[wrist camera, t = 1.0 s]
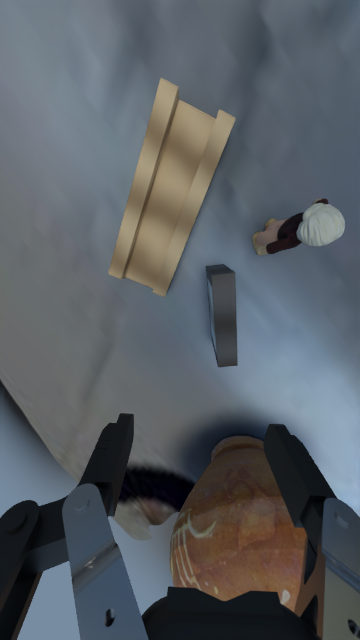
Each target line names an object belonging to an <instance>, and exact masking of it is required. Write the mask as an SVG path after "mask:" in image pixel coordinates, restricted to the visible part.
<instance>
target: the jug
mask: <svg viewBox="0 0 360 640" xmlns="http://www.w3.org/2000/svg"><path fill="white" fill-rule="evenodd" d="M263 443H264V441H262V440H259V439H257V438H253V437H250V436H241V435H239V436H232V437H228V438H225V439H223V440H221V441H220V442H219V443H218V444H217V445H216V446H215V447H214V449H213V451H212V453H211V461H212V462H211V463H210V464H209V465H208V466H207V468H206V469H205V470H204V472H203V474H202V475H201V477H200V478H199V480H198V481H197V482H196V484H195V486H194V488H193V490H192V491H191V492H190V494H189V495H188V497H187V499H186V501H185V503H184V505H183V507H182V509H181V511H180V513H179V515H178V518H177V520H176V523H175V526H174V529H173V533H172V538H171V542H170V568H171V574H172V579H173V583H174V587H188V588H197V589H199V590H201V591H203V592H205V593H207V594H209V595H211V596H213V597H216V598H218V599H220V600H222V601H228V600H230V599H232V598H235V597H237V596H239V595H242V594H244V593H246V592H249V591H271V592H278V596H279V599H280V603H281V604H283V605H284V606H286V607H287V608H289V609H290V610H292V611H293V612H294V609H295V604H296V600H297V597H298V594H299V589H300V583H301V574H302V566H303V557H304V548H305V540H306V536H307V534H306V531H305V529H304V528H296V527H294V524H293V522H292V520H291V517H290V515H289V512H288V510H287V507H286V505H285V502H284V500H283V497H282V495H281V493H280V490H279V488H278V485H277V483H276V480H275V478H274V475H273V473H272V470H271V468H270V466H269V463H268V461H267V458H266V456H265V453H264V448H263Z"/></svg>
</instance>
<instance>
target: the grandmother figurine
mask: <svg viewBox="0 0 360 640" xmlns="http://www.w3.org/2000/svg"><path fill="white" fill-rule="evenodd" d="M265 228H266V230H265V231H264V232H261V231H258V232H256V233H255V234H254V235H253V236H252V241H253V245H254V249H255V251H256V253H257V255H259V256H262V255H267V254H274V253H276V252H279V251H282V250H286V249H290V248H294V247H296V246H298V245H299V244H300V243H304V244H306V245H308V246H315V247H319V246H323V245H327V244H329V243H331V242H333V241H334V240H336V239H338V238H340V237H341V236H342V234H343V232H344V229H345V220H344V218H343V217H342V214H341V213H340V211H339V210H337V209H336V208H334V207H333V206H331V204H328V200H327V199H320V198H319V199H316V200H315V201H314V202H313V203H312V206H311V207H309V208H308V209H307V210H306V211H305V212H304V213H299V214H296V215H294V216H292V217H291V218H288V219H284V220H279V221H277V220H276V219H275V218H271V219H269V220H268V221H267V222H266V224H265Z"/></svg>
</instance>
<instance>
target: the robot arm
mask: <svg viewBox="0 0 360 640" xmlns="http://www.w3.org/2000/svg"><path fill="white" fill-rule="evenodd" d="M133 436H134V415H133V414H125V413H121V414H120V415H119V418H118V420H117V423H109V424H108V425H107V426H106V427H105V428H104V429H103V430H102V432H101V435H100V437H99V439H98V442H97V444H96V446H95V449H94V451H93V453H92V455H91V458H90V460H89V462H88V465H87V467H86V469H85V472H84V474H83V476H82V478H81V481H80V482H79V484H78V486H77V487H76V488H75V489H74V490H73V491H72V492H71V493H70V494H69V495H67V496H66V497H64V498H62V499H60V500H58V501H55V502H51V503H48V504H45V505H42V506H38V505H37V503H36V502H35V501H32V500H26V501H22V502H20V503H18V504H16V505H14V506H13V507H11V508H10V509H9V510H7V511H6V512H5V513H4V514H3V515H2V517H1V518H0V640H17V638H18V635H19V632H20V630H21V627H22V625H23V622H24V619H25V617H26V614H27V612H28V609H29V607H30V604H31V601H32V599H33V596H34V594H35V591H36V589H37V586H38V583H39V581H40V578H41V576H42V573H43V571H45V570H47V569H49V568H52V567H55V566H57V565H59V564H62V563H64V562H67V561H69V562H70V568H71V576H72V585H73V592H74V599H75V606H76V613H77V619H78V626H79V633H80V639H81V640H360V517H359V516H358V515H357V514H356V513H355V512H354V510H353V509H352V508H351V507H349V506H348V505H347V504H345V503H344V502H342V501H341V500H338V499H337V497H336V496H335V494H334V492H333V491H332V489H331V488H330V486H329V485H328V483H327V481H326V480H325V478H324V477H323V475H322V473H321V472H320V470H319V469H318V467H317V465H316V464H315V463H314V461H313V459H312V457H311V456H310V455H309V453H308V451H307V449H306V448H305V446H304V445H303V443H302V442H301V441H300V440H299V439H298V438H297V437H296V436H294V435H290V433H289V431H288V430H287V428H286V426H285V425H283V424H269V426H268V429H267V432H266V436H265V439H264V443H263V448H264V453H265V456H266V458H267V461H268V463H269V466H270V468H271V470H272V473H273V475H274V478H275V480H276V483H277V485H278V488H279V490H280V493H281V495H282V497H283V500H284V502H285V505H286V507H287V510H288V512H289V515H290V517H291V520H292V522H293V524H294V527H296V528H304V529H305V531H306V534H307V536H306V540H305V548H304V557H303V566H302V574H301V583H300V589H299V594H298V597H297V600H296V604H295V609H294V612H293V611H292V610H290V609H289V608H287V607H286V606H284V605H283V604H281V603H280V599H279V596H278V592H271V591H249V592H246V593H244V594H242V595H239V596H237V597H235V598H232V599H230V600H228V601H222V600H220V599H218V598H216V597H213V596H211V595H209V594H207V593H205V592H203V591H201V590H199V589H197V588H188V587H168V592H167V596H166V597H164V598H161V599H160V600H158V601H156V602H155V603H154V604H152V605H151V606H150V607H149V608H148V609H147V610H146V611H145V612H144V614H143V615H142V616H141V614H140V611H139V608H138V605H137V602H136V599H135V595H134V593H133V589H132V586H131V583H130V580H129V577H128V574H127V570H126V567H125V564H124V561H123V558H122V555H121V552H120V549H119V547H118V545H117V543H116V542H115V540H114V537H113V534H112V531H111V527H110V524H109V521H108V516H114V515H115V511H116V507H117V503H118V499H119V495H120V491H121V487H122V483H123V479H124V475H125V471H126V467H127V463H128V459H129V455H130V451H131V447H132V443H133Z"/></svg>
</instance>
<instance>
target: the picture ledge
mask: <svg viewBox="0 0 360 640" xmlns="http://www.w3.org/2000/svg"><path fill="white" fill-rule="evenodd" d="M235 119H236V118H235V117H233V116H231V115H229V114H227V113H226V112H224V111H222V110H219V112H218V115H217V118H216V119H215V118H213V117H211V116H209V115H208V114H206V113H204V112H202V111H200V110H198V109H196V108H194V107H193V106H191V105H189V104H187V103H185V102H183V101H181V100H179V89H178V87H177V86H176V85H174V84H172V83H170V82H168V81H166V80H164V79H163V78H161V79H160V83H159V87H158V90H157V94H156V98H155V101H154V105H153V109H152V113H151V116H150V120H149V124H148V127H147V131H146V135H145V139H144V142H143V146H142V150H141V153H140V157H139V161H138V165H137V168H136V172H135V176H134V179H133V183H132V187H131V191H130V194H129V198H128V202H127V205H126V209H125V213H124V217H123V220H122V224H121V228H120V231H119V235H118V239H117V243H116V246H115V250H114V254H113V257H112V261H111V265H110V269H109V272H108V274H109V275H112V276H114V277H117V278H119V279H123V278H124V277H126V278H129V279H131V280H134V281H136V282H138V283H141V284H143V285H146V286H148V287H151V288H153V291H152V292H153V293H156V294H158V295H160V296H163V297H165V295H166V293H167V290H168V288H169V285H170V283H171V280H172V278H173V275H174V273H175V270H176V268H177V265H178V263H179V260H180V258H181V255H182V253H183V250H184V248H185V245H186V243H187V240H188V238H189V235H190V233H191V230H192V228H193V225H194V223H195V220H196V218H197V215H198V213H199V210H200V207H201V205H202V202H203V200H204V197H205V195H206V192H207V190H208V187H209V185H210V182H211V180H212V177H213V175H214V172H215V170H216V167H217V165H218V162H219V160H220V157H221V155H222V152H223V150H224V147H225V145H226V142H227V140H228V137H229V135H230V132H231V130H232V127H233V124H234V122H235Z"/></svg>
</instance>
